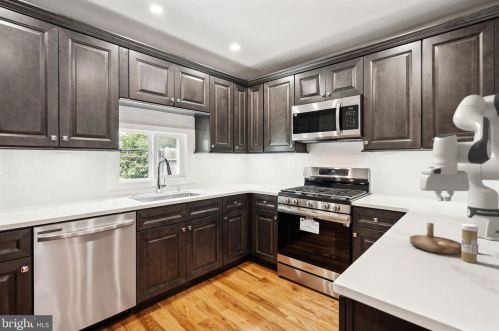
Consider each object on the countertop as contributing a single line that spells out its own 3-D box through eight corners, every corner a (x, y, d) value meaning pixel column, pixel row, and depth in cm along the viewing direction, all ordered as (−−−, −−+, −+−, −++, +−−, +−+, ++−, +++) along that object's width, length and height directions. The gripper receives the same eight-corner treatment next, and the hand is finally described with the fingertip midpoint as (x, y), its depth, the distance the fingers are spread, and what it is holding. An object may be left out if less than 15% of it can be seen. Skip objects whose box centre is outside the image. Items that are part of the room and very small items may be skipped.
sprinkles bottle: (457, 258, 93) (458, 223, 93) (468, 258, 94) (469, 223, 94) (469, 263, 89) (470, 226, 89) (481, 263, 89) (481, 226, 89)
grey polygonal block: (476, 252, 101) (476, 243, 101) (478, 253, 99) (478, 244, 99) (463, 250, 102) (463, 242, 102) (464, 252, 101) (465, 243, 101)
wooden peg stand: (452, 242, 110) (453, 224, 110) (472, 256, 93) (472, 235, 93) (405, 237, 117) (406, 220, 117) (415, 249, 100) (416, 230, 100)
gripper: (461, 170, 115) (460, 200, 115) (417, 169, 114) (417, 199, 115) (473, 170, 109) (473, 202, 109) (427, 170, 108) (427, 201, 108)
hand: (444, 201), depth 112 cm, fingers closed
